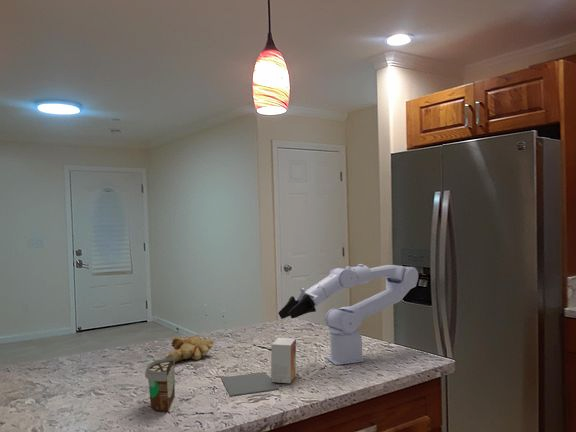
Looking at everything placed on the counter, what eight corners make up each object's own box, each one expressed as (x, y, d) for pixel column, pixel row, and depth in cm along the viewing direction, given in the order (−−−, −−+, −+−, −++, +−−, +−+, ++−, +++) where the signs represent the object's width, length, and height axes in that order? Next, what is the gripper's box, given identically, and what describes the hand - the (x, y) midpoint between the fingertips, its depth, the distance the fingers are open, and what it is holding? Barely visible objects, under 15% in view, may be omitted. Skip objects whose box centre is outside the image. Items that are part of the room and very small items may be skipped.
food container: (151, 396, 122) (150, 358, 122) (175, 395, 122) (174, 356, 122) (140, 416, 109) (139, 374, 109) (167, 415, 110) (166, 372, 110)
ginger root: (209, 343, 166) (208, 323, 164) (217, 367, 151) (216, 345, 149) (163, 350, 161) (162, 329, 159) (167, 375, 146) (166, 352, 145)
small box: (290, 384, 127) (291, 345, 127) (270, 382, 128) (271, 344, 128) (296, 374, 135) (296, 338, 135) (277, 373, 136) (277, 336, 136)
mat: (265, 372, 137) (265, 371, 137) (278, 389, 124) (278, 388, 124) (221, 378, 133) (221, 377, 133) (230, 396, 120) (230, 395, 120)
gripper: (303, 282, 149) (269, 304, 143) (325, 278, 137) (288, 302, 130) (314, 302, 150) (280, 324, 143) (336, 300, 137) (300, 324, 130)
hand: (285, 315), depth 137 cm, fingers open, 7 cm apart
